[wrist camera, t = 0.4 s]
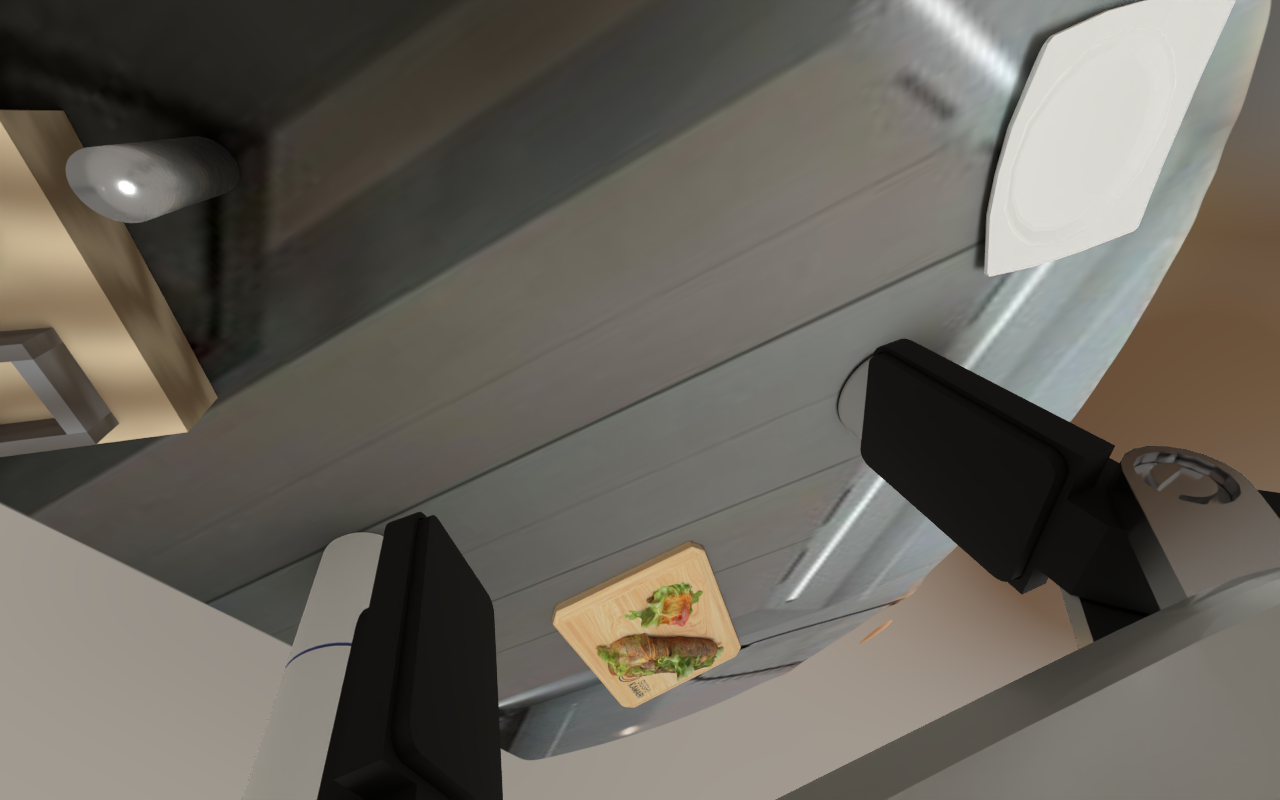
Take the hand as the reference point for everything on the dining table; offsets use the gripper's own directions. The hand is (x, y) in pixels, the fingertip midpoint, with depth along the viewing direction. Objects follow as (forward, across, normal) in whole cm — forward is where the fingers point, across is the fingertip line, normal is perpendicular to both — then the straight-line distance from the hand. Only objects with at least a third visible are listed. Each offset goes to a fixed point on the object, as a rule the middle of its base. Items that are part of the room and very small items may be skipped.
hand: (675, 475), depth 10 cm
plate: (+35, -59, +9) cm, 69 cm away
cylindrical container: (+35, +28, +29) cm, 54 cm away
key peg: (+34, +19, -8) cm, 40 cm away
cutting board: (+36, +1, +66) cm, 75 cm away
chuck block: (+34, +33, -4) cm, 48 cm away
